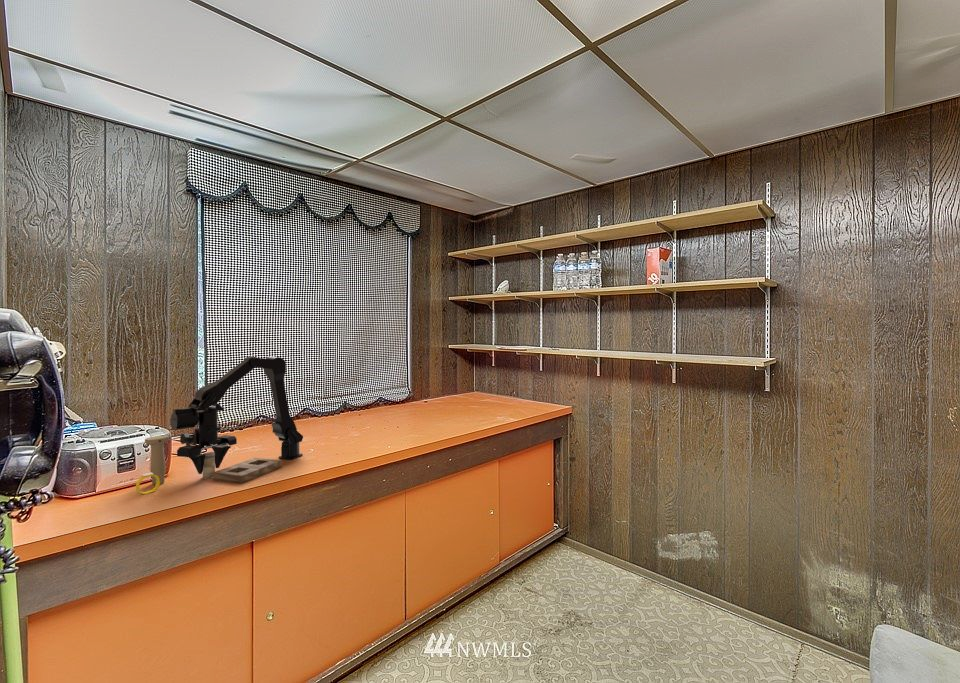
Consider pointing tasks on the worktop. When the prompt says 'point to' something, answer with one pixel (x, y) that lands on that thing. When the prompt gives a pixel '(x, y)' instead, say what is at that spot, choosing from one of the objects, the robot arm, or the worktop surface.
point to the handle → (157, 457)
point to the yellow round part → (146, 477)
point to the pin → (209, 465)
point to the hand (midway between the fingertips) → (208, 470)
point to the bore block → (247, 470)
